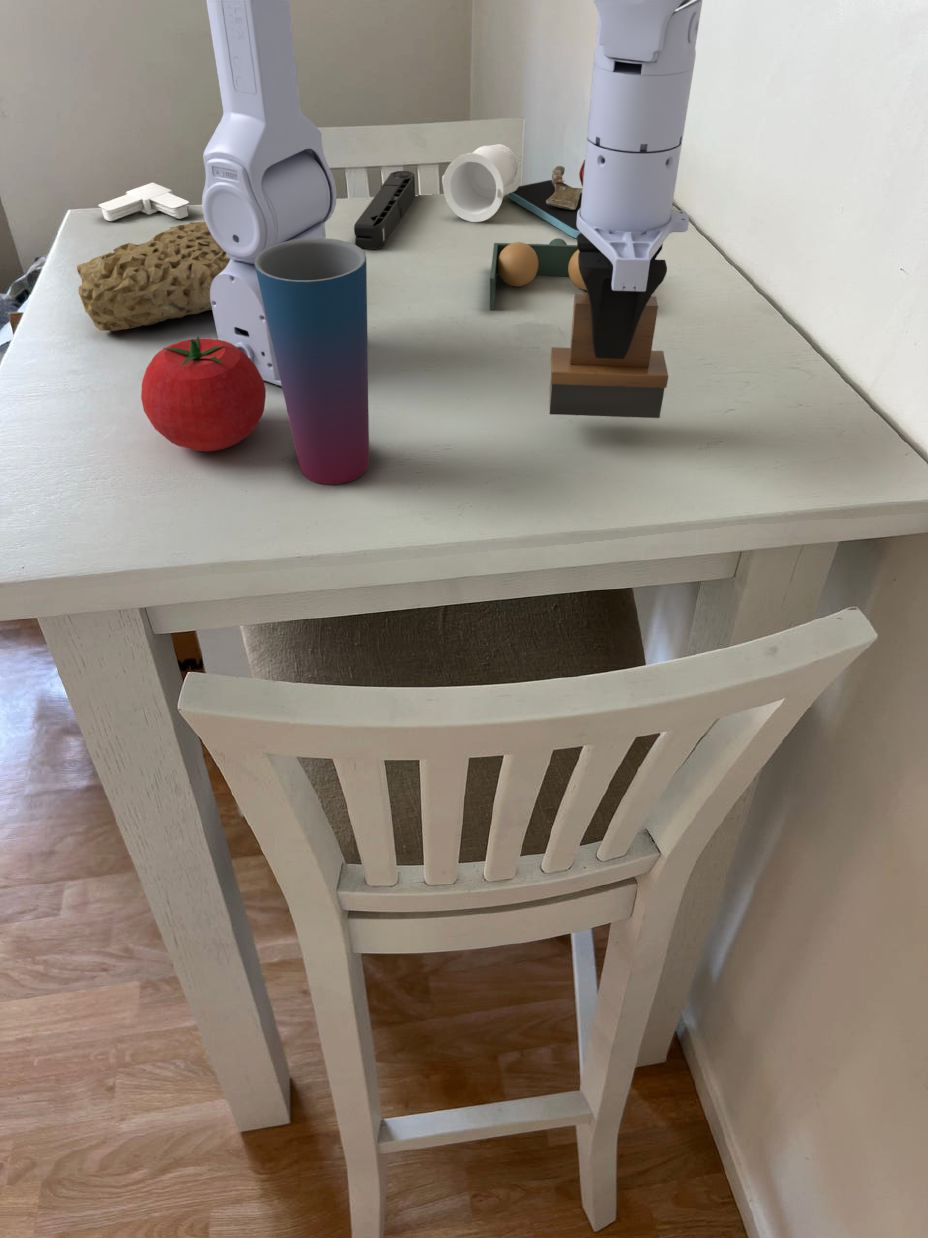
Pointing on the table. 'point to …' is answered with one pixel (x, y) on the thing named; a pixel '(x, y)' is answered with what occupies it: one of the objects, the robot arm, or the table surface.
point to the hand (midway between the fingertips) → (608, 348)
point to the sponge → (152, 279)
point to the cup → (321, 351)
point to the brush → (608, 371)
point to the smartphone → (547, 206)
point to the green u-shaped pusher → (549, 261)
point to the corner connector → (145, 203)
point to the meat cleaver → (563, 192)
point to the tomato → (203, 394)
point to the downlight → (480, 182)
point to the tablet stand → (385, 210)
